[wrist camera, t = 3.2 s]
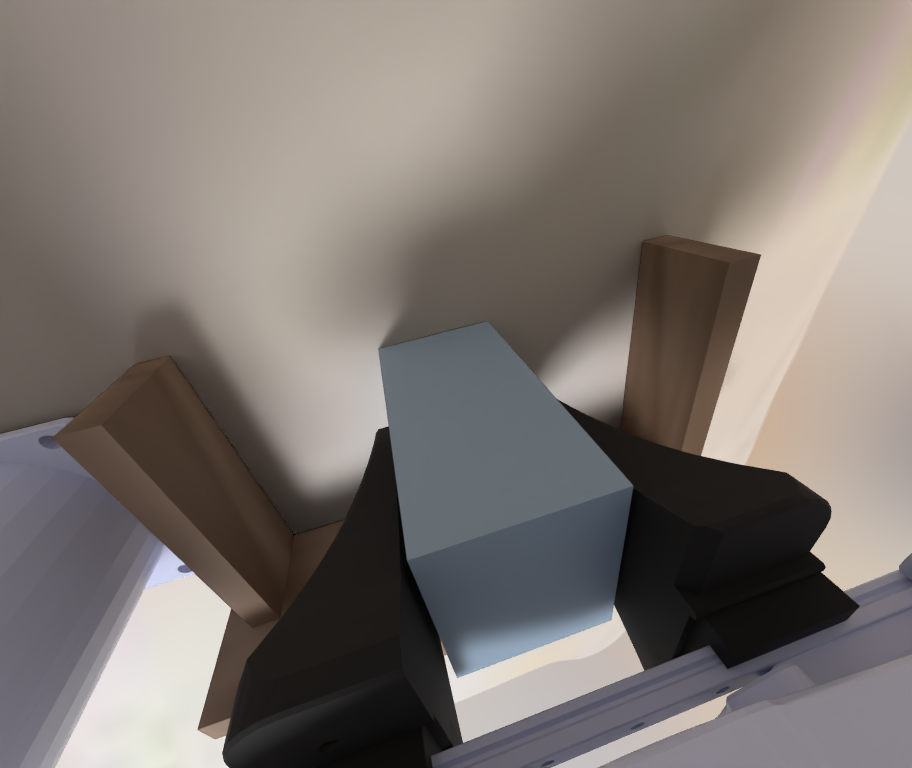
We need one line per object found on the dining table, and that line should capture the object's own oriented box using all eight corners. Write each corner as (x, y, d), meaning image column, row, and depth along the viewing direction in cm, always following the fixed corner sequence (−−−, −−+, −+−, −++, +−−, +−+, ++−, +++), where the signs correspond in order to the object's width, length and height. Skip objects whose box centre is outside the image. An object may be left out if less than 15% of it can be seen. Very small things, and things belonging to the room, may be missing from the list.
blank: (411, 452, 15) (456, 678, 8) (378, 349, 12) (406, 560, 6) (500, 426, 15) (611, 620, 9) (487, 320, 13) (633, 485, 6)
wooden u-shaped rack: (258, 562, 16) (215, 739, 11) (98, 373, 11) (-132, 556, 6) (652, 438, 18) (764, 538, 13) (692, 229, 13) (907, 266, 8)
